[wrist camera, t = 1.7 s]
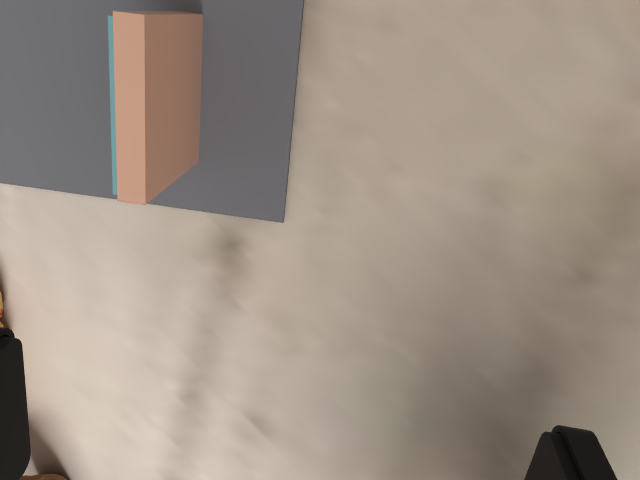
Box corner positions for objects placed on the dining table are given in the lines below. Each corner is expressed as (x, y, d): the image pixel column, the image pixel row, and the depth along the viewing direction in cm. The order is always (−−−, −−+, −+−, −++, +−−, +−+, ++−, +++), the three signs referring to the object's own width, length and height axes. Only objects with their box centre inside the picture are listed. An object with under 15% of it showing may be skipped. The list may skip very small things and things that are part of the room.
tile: (203, 14, 30) (144, 14, 23) (198, 162, 33) (145, 204, 26) (173, 10, 30) (105, 10, 23) (171, 158, 33) (111, 199, 26)
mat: (307, -38, 29) (306, -38, 29) (283, 220, 34) (283, 222, 34) (-105, -85, 30) (-109, -86, 30) (-67, 171, 36) (-70, 173, 35)
